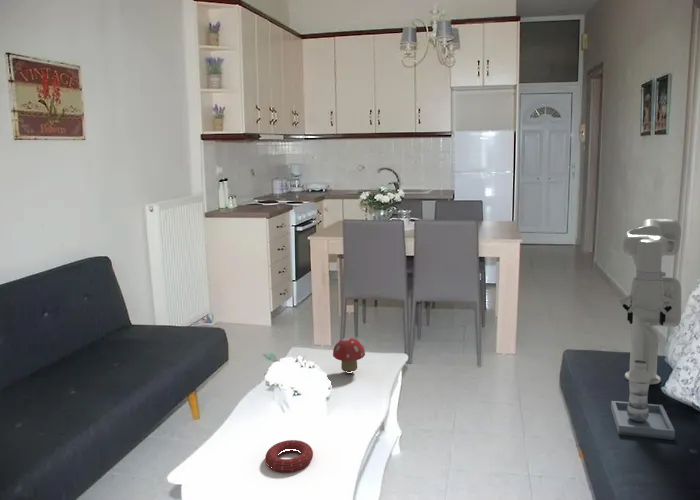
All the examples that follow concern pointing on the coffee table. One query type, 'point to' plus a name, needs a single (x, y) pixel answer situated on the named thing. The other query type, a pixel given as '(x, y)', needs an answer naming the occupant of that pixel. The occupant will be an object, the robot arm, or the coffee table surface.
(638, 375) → the plastic bottle
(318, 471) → the coffee table surface
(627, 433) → the tray
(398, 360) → the coffee table surface
